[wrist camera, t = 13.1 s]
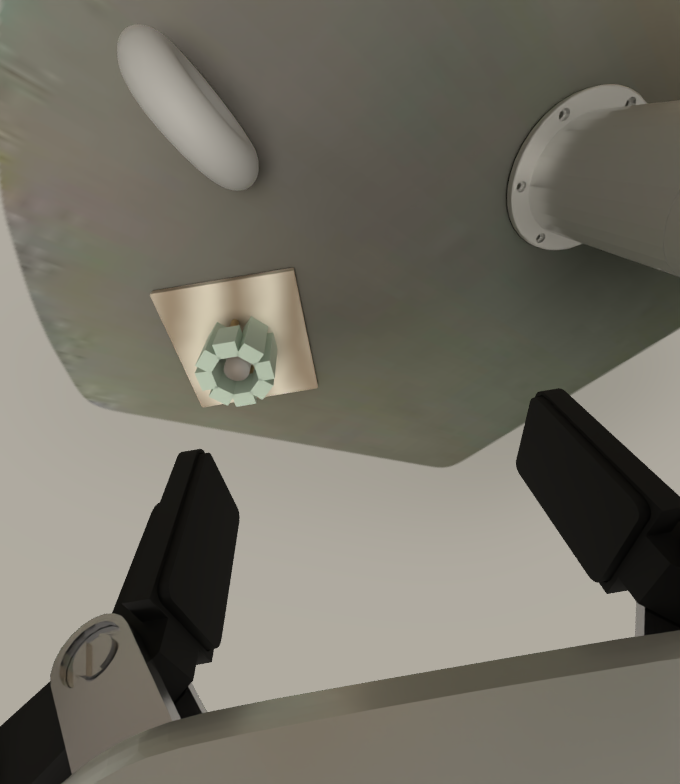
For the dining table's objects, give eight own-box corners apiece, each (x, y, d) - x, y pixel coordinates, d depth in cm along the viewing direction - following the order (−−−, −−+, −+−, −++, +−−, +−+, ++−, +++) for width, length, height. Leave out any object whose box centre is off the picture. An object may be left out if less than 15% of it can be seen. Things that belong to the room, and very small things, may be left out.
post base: (293, 267, 35) (293, 287, 30) (317, 383, 43) (320, 414, 38) (153, 290, 34) (129, 314, 30) (204, 402, 43) (192, 435, 38)
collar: (267, 310, 36) (262, 336, 31) (282, 367, 40) (280, 399, 35) (199, 321, 36) (183, 349, 31) (221, 378, 40) (211, 411, 35)
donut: (140, 71, 26) (68, 38, 17) (170, 31, 24) (109, -25, 16) (244, 193, 31) (225, 212, 22) (273, 164, 30) (264, 172, 21)
